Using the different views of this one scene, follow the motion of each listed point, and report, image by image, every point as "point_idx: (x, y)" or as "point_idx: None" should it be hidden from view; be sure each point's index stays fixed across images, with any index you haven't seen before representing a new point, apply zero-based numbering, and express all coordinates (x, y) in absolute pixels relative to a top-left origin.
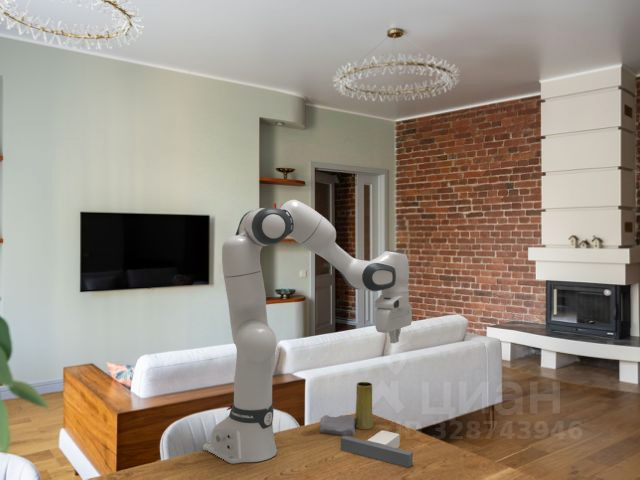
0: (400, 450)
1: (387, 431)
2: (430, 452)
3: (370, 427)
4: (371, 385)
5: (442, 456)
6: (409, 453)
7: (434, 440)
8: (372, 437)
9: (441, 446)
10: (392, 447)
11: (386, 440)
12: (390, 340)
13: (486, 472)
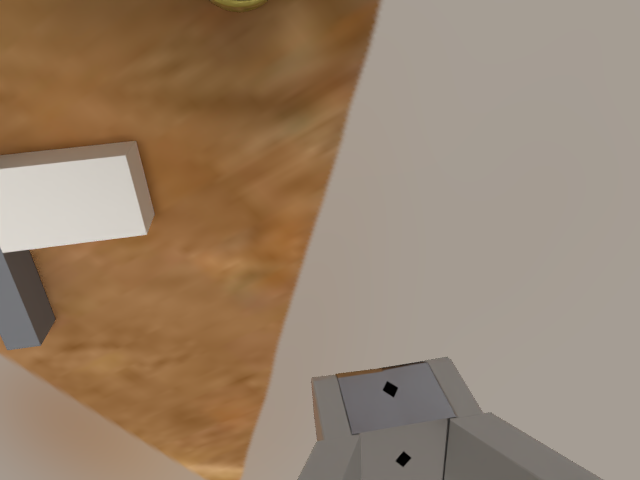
0: (15, 312)
1: (131, 181)
2: (189, 309)
3: (229, 10)
4: (246, 6)
5: (188, 345)
6: (20, 344)
7: (294, 271)
8: (16, 172)
9: (260, 309)
10: (11, 280)
11: (43, 232)
12: (317, 402)
13: (180, 452)
